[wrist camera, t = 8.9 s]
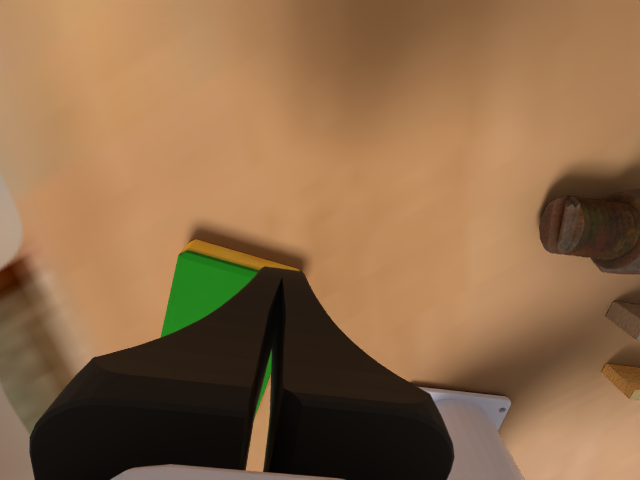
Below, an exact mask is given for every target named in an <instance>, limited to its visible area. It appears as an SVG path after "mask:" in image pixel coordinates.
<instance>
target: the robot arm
mask: <svg viewBox="0 0 640 480" xmlns="http://www.w3.org/2000/svg"><path fill="white" fill-rule="evenodd" d="M271 350H272V361H271V397H270V419H269V429H268V437H267V445H266V453H265V462H264V470H263V472H256V471H246V465H247V459H248V452H249V446H250V440H251V434H252V427H253V422H254V417H255V412H256V408H257V404H258V400H259V396H260V392H261V388H262V385H263V381H264V377H265V373H266V369H267V365H268V361H269V357H270V354H271ZM510 406H511V401H510V400H509V398H508V397H505V396H497V395H488V394H479V393H470V392H461V391H452V390H443V389H434V388H425V387H417V386H415V385H413V384H412V383H410V382H408V381H406V380H404V379H403V378H401V377H399V376H397V375H396V374H394V373H393V372H391V371H390V370H388V369H387V368H385V367H384V366H382V365H381V364H379V363H378V362H377V361H375V360H374V359H373V358H371V357H370V356H369V355H367V354H366V353H365V352H364V351H363V350H362V349H360V348H359V347H358V346H357V345H356V344H354V343H353V342H352V341H351V340H350V339H349V338H348V337H347V336H346V335H345V334H344V333H343V332H342V331H341V330H340V329H339V328H338V327H337V325H336V324H335V323H334V322H333V321H332V319H331V318H330V317H329V315H328V314H327V313H326V311H325V310H324V308H323V307H322V306H321V304H320V302H319V301H318V299H317V298H316V296H315V294H314V293H313V291H312V289H311V287H310V285H309V283H308V281H307V279H306V277H305V275H304V273H303V272H302V271H296V270H289V269H281V268H274V267H267V266H264V267H263V268H261V269H260V270H259V272H258V273H257V274H256V275H255V276H254V277H253V278H252V279H251V281H250V282H249V283H248V284H247V285H245V286H244V287H243V288H242V289H241V290H240V291H239V292H238V293H237V294H236V295H234V296H233V297H232V298H231V299H229V300H228V301H227V302H226V303H224V304H223V305H222V306H220V307H219V308H218V309H216V310H215V311H213V312H212V313H210V314H209V315H207V316H205V317H204V318H202V319H200V320H198V321H196V322H194V323H192V324H190V325H188V326H186V327H184V328H182V329H180V330H178V331H176V332H174V333H171V334H169V335H166V336H164V337H161V338H159V339H156V340H153V341H150V342H147V343H145V344H141V345H138V346H135V347H132V348H128V349H124V350H121V351H117V352H113V353H110V354H106V355H102V356H98V357H94V358H92V359H91V361H90V362H89V363H88V364H87V365H86V366H85V367H84V368H83V369H82V370H81V371H80V372H79V373H78V374H77V375H76V376H75V377H74V378H73V379H72V380H71V381H70V383H69V384H68V385H67V386H66V387H65V388H64V390H63V391H62V392H61V393H60V394H59V396H58V397H57V398H56V399H55V401H54V402H53V403H52V404H51V406H50V407H49V408H48V409H47V410H46V412H45V413H44V414H43V415H42V417H41V418H40V419H39V420H38V422H37V423H36V425H35V427H34V429H33V431H32V433H31V436H30V457H31V463H32V468H33V473H34V478H35V480H525V479H524V477H523V476H522V474H521V472H520V470H519V468H518V467H517V465H516V463H515V461H514V459H513V458H512V456H511V454H510V452H509V450H508V449H507V447H506V445H505V443H504V441H503V440H502V438H501V436H500V434H499V432H498V430H499V428H500V426H501V424H502V422H503V420H504V418H505V416H506V414H507V412H508V410H509V408H510Z"/></svg>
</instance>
